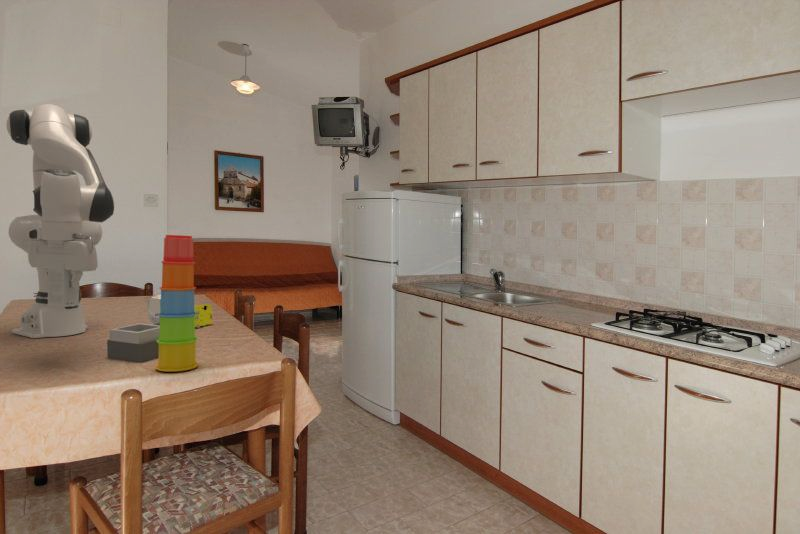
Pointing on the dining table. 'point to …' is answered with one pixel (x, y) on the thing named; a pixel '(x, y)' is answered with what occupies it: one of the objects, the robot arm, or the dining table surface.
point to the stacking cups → (177, 306)
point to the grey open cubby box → (134, 342)
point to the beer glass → (154, 310)
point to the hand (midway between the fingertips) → (63, 286)
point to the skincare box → (60, 285)
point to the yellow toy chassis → (203, 315)
